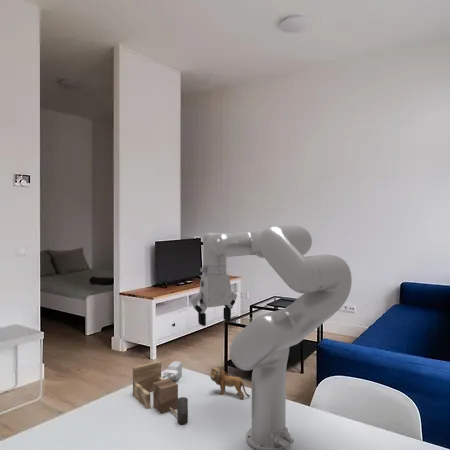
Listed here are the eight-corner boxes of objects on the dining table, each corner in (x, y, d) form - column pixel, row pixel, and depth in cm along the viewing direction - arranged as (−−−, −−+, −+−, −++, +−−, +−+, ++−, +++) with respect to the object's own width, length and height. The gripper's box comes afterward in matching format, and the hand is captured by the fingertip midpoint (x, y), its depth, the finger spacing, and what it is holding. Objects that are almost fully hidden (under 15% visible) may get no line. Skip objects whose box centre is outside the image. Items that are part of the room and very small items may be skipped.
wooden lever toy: (193, 421, 123) (193, 395, 123) (176, 427, 120) (176, 400, 120) (169, 401, 136) (169, 378, 136) (153, 406, 133) (153, 382, 133)
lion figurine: (208, 394, 142) (208, 369, 141) (213, 388, 147) (213, 364, 146) (248, 401, 137) (248, 375, 137) (252, 394, 142) (252, 369, 142)
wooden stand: (175, 400, 138) (175, 371, 137) (147, 408, 132) (146, 378, 131) (159, 387, 147) (159, 360, 147) (132, 395, 141) (132, 366, 141)
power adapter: (172, 387, 148) (172, 371, 148) (160, 386, 149) (160, 370, 149) (183, 375, 158) (183, 361, 158) (172, 374, 160) (172, 360, 160)
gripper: (198, 274, 122) (198, 329, 123) (242, 269, 132) (242, 321, 133) (185, 271, 128) (186, 324, 129) (229, 267, 138) (229, 316, 139)
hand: (214, 322), depth 131 cm, fingers open, 9 cm apart
